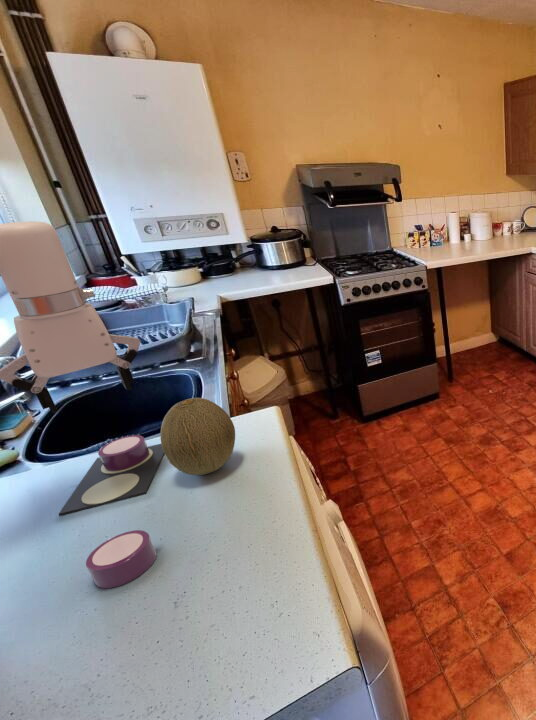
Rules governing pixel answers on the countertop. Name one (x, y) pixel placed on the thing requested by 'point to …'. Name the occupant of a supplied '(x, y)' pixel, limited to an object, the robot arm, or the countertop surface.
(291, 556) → the countertop surface
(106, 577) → the dish
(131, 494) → the mat
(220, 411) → the fruit
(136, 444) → the dish
